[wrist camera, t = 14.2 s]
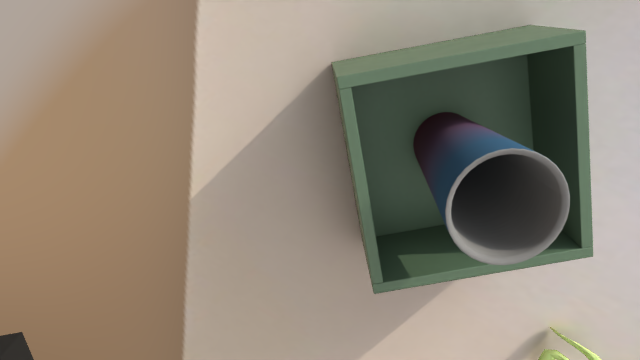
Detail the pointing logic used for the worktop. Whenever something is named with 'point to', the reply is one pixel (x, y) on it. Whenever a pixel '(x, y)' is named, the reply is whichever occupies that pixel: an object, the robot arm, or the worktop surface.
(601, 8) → the worktop surface
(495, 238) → the cup
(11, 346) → the robot arm
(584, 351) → the figurine
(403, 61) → the bin
